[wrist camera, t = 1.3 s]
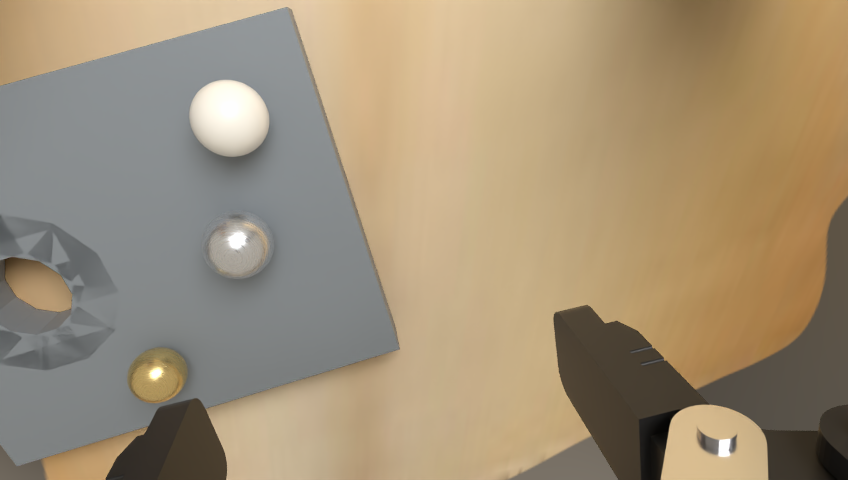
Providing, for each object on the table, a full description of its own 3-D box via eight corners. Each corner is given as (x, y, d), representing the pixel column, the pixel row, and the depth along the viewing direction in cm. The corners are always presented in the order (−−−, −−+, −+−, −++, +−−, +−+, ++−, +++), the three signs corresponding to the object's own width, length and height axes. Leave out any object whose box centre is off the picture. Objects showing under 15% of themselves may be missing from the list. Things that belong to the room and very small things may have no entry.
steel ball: (263, 193, 27) (253, 214, 24) (286, 252, 29) (279, 279, 26) (199, 212, 27) (180, 236, 24) (225, 270, 29) (210, 299, 25)
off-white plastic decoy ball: (258, 68, 25) (246, 73, 22) (283, 137, 27) (275, 151, 23) (188, 88, 25) (165, 95, 22) (217, 157, 26) (199, 173, 23)
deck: (291, 9, 27) (286, 7, 24) (395, 328, 35) (399, 349, 32) (-177, 138, 26) (-227, 148, 23) (39, 436, 34) (16, 466, 31)
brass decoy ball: (180, 330, 30) (164, 360, 27) (202, 372, 31) (188, 405, 28) (129, 346, 30) (107, 378, 27) (152, 387, 31) (134, 421, 28)
